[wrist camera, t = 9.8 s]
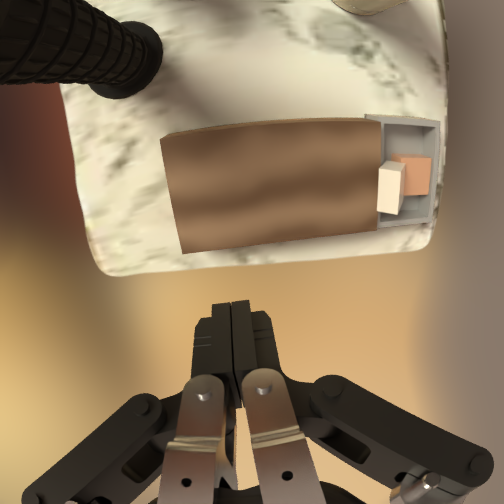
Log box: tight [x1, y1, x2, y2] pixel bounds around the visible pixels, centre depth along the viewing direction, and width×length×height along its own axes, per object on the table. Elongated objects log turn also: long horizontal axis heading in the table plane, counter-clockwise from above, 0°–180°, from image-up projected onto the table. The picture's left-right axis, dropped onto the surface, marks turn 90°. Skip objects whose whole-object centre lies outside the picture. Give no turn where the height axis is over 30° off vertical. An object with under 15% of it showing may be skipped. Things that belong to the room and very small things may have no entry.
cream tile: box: [377, 161, 406, 215], centre depth 31 cm, size 5×5×2 cm
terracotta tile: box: [391, 153, 432, 196], centre depth 34 cm, size 5×5×2 cm
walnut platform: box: [160, 118, 381, 254], centre depth 32 cm, size 13×23×5 cm, turn 96°
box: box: [365, 114, 440, 228], centre depth 33 cm, size 14×10×4 cm
